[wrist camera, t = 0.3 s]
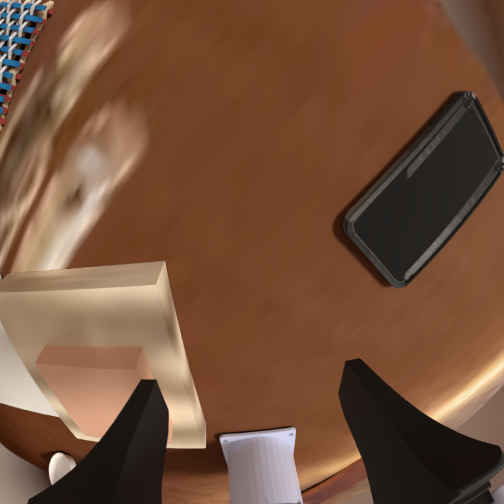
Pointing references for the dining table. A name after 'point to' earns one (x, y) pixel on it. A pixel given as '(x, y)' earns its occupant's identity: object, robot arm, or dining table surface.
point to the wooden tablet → (335, 483)
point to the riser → (105, 330)
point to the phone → (427, 192)
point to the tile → (94, 382)
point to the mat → (19, 381)
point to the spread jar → (60, 466)
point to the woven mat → (17, 41)
